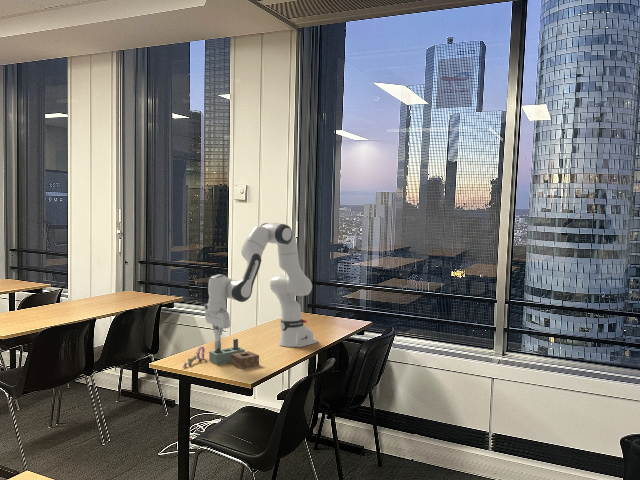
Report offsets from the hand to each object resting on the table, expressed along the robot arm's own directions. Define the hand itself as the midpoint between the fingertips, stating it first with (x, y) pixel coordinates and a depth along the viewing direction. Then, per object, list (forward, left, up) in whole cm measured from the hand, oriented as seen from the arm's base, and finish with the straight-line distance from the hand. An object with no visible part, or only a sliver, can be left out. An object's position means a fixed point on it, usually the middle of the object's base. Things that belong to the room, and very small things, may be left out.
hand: (217, 334), depth 274 cm
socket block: (-8, +13, -14) cm, 21 cm away
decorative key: (+11, -5, -15) cm, 19 cm away
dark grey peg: (-10, 0, -14) cm, 17 cm away
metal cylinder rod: (0, 0, -9) cm, 9 cm away
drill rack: (-5, 0, -14) cm, 15 cm away
